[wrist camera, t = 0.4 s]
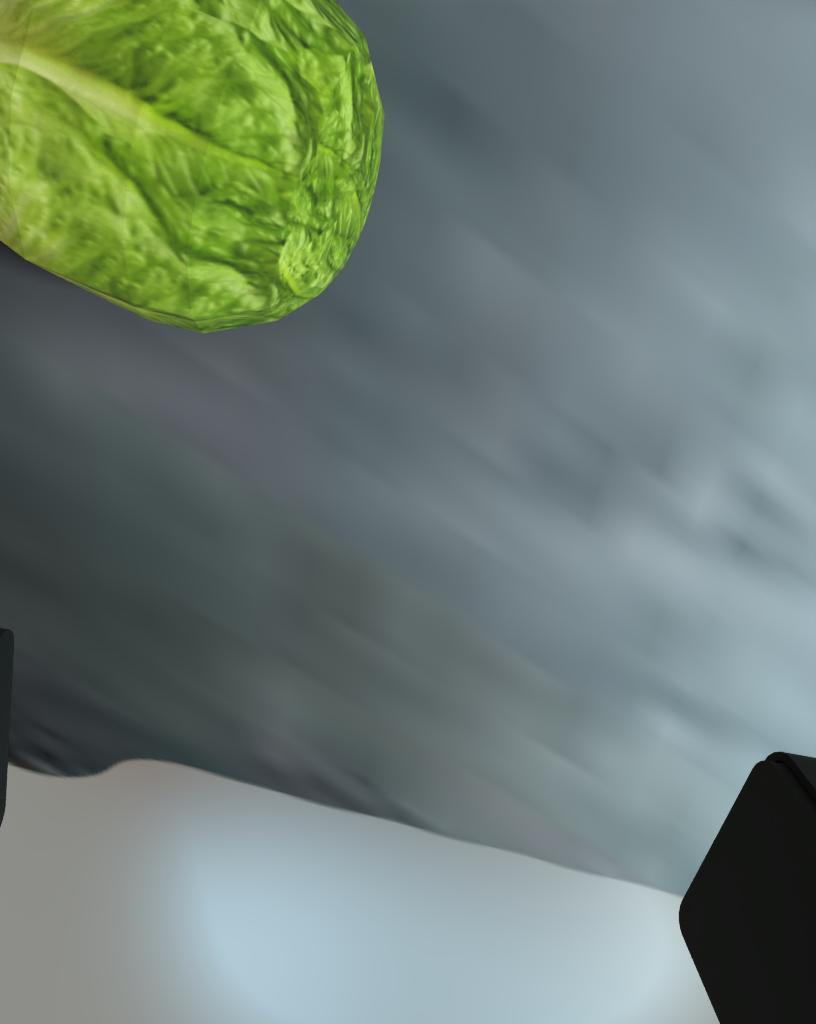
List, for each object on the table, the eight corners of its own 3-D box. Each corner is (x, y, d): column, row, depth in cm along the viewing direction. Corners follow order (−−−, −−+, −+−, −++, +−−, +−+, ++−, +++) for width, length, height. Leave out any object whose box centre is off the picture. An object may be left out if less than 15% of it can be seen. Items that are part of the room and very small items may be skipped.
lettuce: (-231, -380, 22) (-503, -28, 19) (454, -78, 24) (298, 290, 21) (-37, -7, 35) (-183, 238, 32) (401, 174, 36) (299, 424, 33)
